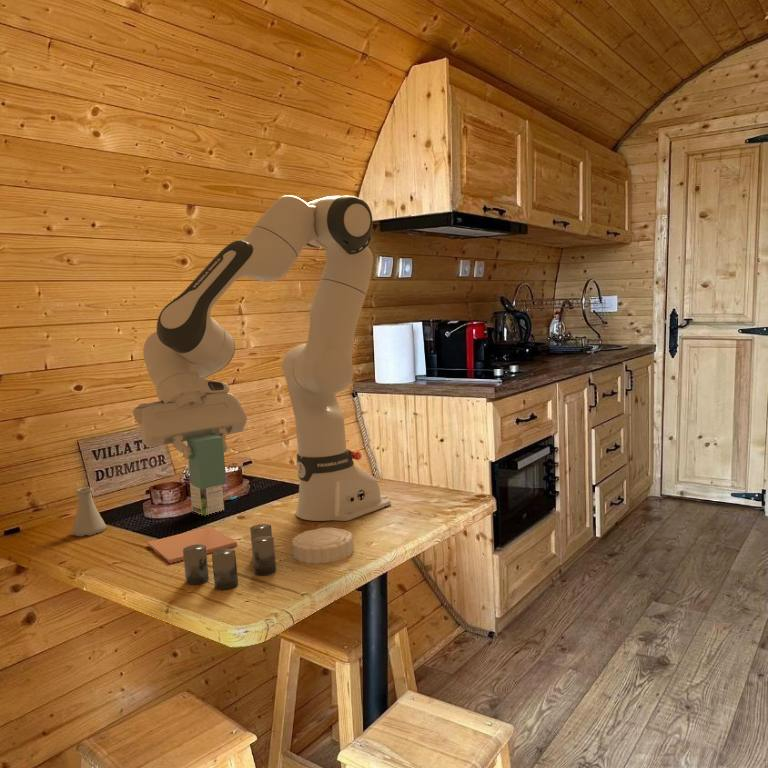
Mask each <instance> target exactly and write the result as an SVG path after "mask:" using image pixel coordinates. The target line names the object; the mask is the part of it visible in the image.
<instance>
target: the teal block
mask: <svg viewBox="0 0 768 768" xmlns="http://www.w3.org/2000/svg"><path fill="white" fill-rule="evenodd" d="M186 443H187V444H186V445H187V446H188V447H190V446H192V447H193V450H194V452H195V456H194V458H192V459H189V466H190V476H191V485H193V486H195V487H198V488H200V489H205V488H209V487H214V486H219V485H222V486H223V485H227V475H226V463H225V452H224V450H223V439H222V437H221V436H217V435H214V434H208V435H202V436H196V437H190V438H187V441H186ZM189 466H188V467H189Z"/></svg>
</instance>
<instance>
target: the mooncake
mask: <svg viewBox="0 0 768 768" xmlns="http://www.w3.org/2000/svg"><path fill="white" fill-rule="evenodd" d="M354 545H355V542H354V535H353V534H352V533H351V532H350V531H348V530H346V529H343V528H342V529H341V528H336V527H335V528H334V527H331V526H330V527H319V528H316V529H310V530H305V531H303V532H300V533H298V534H297V535H296V536H295V537H293V538H292V540H291V551H292V552H291V553H292V557H293V559H294V560H297V561H298V562H302V563H303V562H304V563H305V564H311V563H312V564H316V565H317V564H328V563H330V562H331V563H334V562H335V563H336V562H338V561H340V560H344V559H345V558H347V557H350V556H351V554H352V553H354V551H355V546H354Z"/></svg>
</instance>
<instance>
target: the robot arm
mask: <svg viewBox="0 0 768 768" xmlns="http://www.w3.org/2000/svg"><path fill="white" fill-rule="evenodd" d="M373 224H374V223H373V214H372V210H371V207H370V206H369V205H368V204H367V202H365V201H364V200H363V199H361V198H359V197H357V196H354V195H331V196H325V197H322V198H319V199H313V200H312V199H311V200H307V201H305V200H303V199H301V198H300V197H298V196H296V195H283V196H280V197H279V198H278V199H277V200H276V201H274V202H273V203H272V204H271V205H270V206H269V208H267V209H266V211H264V213H263V214H262V216H260V218H259V219H258V220H257V222H256V223H255V225H254V226H253V227H252V228H251V230H250V231H249V232H248V233H247V235H245V237H244V238H242V239H241V240H234V241H232V242H231V243H229V244H227V245H226V246H225V247H224V248H223V249H221V250H220V252H218V254H216V256H214V257H213V258H212V260H211V261H210V262H209V263H208V264H207V265H206V266H205V267H204V269H203V270H202V271H201V272H200V273H199V274H198V275H197V277H196V278H194V280H193V281H192V282H191V283H190V284H189V285H188V286H187V288H186V289H184V290H183V291H182V293H180V294H179V295H178V296H177V297H175V298H174V299H173V300H171V301H170V302H169V303H167V304H166V305H165V307H163V308H162V309H161V311H160V313H159V315H158V318H157V321H156V331H154V332H153V333H151V334H150V335H149V336H148V337H147V339H146V340H145V341H144V345H143V351H142V352H143V353H142V354H143V355H142V356H143V359H144V364H145V367H146V370H147V374H148V376H149V378H150V380H151V382H152V383H153V385H154V386H155V391H156V392H155V393H156V395H157V398H158V401H154V402H153V401H152V402H150V403H149V402H148V403H139V404H138V405H137V406H136V407H135V408H134V409H133V410H132V415H133V417H134V419H135V421H136V423H137V424H139V425H138V426H139V431H140V436H141V440H142V442H143V444H144V445H145V446H146V447H148V448H150V449H151V448H156V447H161V446H168V445H173V448H174V449H175V450H177V451H179V452H180V453H181V454H183V457H184V459H185V460H187V461H188V459H192V458H194V456H195V452H194V450H193V447H192V446H190V447H188V445H187V444H186V443H187V438H190V437H196V436H202V435H208V434H214V435H217V436H221V437H222V439H223V450H224V453H227V451H228V445H227V442H226V439H227V438H226V437H227V435H232V434H236V433H241V432H243V430H245V427H246V424H247V421H248V417H247V413H246V412H245V410H244V408H243V406H242V405H241V403H240V402H239V400H238V398H237V397H236V396H235V395H234V394H232V393H230V386H229V384H228V383H227V382H223V381H215V380H209V379H206V378H208V377H209V376H212V375H215V373H217V372H219V371H221V370H223V369H224V368H226V367H228V365H229V364H230V363H231V361H232V360H233V358H234V357H235V351H236V342H235V338H234V337H233V336H232V335H231V334H230V333H229V332H228V331H227V330H226V329H225V328H224V327H223V326H222V325H221V324H220V323H218V322H217V321H216V320H215V319H214V318H213V317H212V316H211V312H212V308H213V307H214V305H215V304H216V303H217V302H218V301H219V300H220V298H221V297H223V295H224V294H225V293H226V292H227V290H229V288H230V287H231V286H232V285H233V284H234V282H236V281H237V280H239V279H241V278H249V279H252V280H255V281H258V282H262V283H264V282H265V283H270V282H271V283H272V282H275V281H279V280H281V279H282V278H283V277H285V275H286V274H287V273H288V272H289V271H290V270H291V268H292V267H293V265H294V264H295V262H296V260H297V259H298V257H299V256H300V254H301V253H302V251H303V250H304V247H306V246H308V247H311V248H315V249H316V248H322V249H323V248H324V249H325V250H324V251H325V257H326V258H325V265H324V267H323V270H322V272H321V277H320V279H319V282H318V285H317V288H316V290H315V294H314V297H313V298H312V303H311V306H310V309H309V313H308V316H309V329H308V335H307V342H306V343H300V344H297V345H296V346H294V347H293V348H291V349H290V350H288V351H287V353H285V355H284V357H283V359H282V363H281V365H282V367H281V369H282V370H281V371H282V373H283V376H284V378H285V381H286V384H287V390H288V395H289V398H290V404H291V406H292V411H293V415H294V420H295V421H294V422H295V431H296V440H297V441H296V443H297V454H296V469H297V477H298V482H299V483H298V484H299V485H298V498H297V499H298V500H297V506H296V510H295V516H296V517H297V518H299V519H302V520H305V521H306V520H307V521H315V522H316V521H319V522H323V521H327V522H328V521H340V522H345V521H351V520H353V519H356V518H358V517H361V516H363V515H367V514H370V513H372V512H375V511H378V510H381V509H383V508H385V506H386V507H388V506H390V505H392V504H391V499H390V498H389V496H386V495H384V494H383V493H381V489H380V485H379V482H378V480H377V479H376V477H374V476H373V475H371V474H370V473H368V472H367V471H366V470H364V469H362V468H360V467H359V466H358V465H356V464H355V462H354V460H356V461H360V460H361V459H362V457H363V456H362V455H363V454H362V452H361V451H360V450H359V451H358V450H353V451H352V450H349V449H347V442H346V428H345V427H346V426H345V418H344V414H343V412H342V410H341V408H340V406H339V401H338V399H337V395H336V394H338V393H340V392H342V391H345V390H346V389H347V388H348V387H349V385H350V384H351V383H352V380H353V378H354V372H355V369H354V364H353V351H354V350H353V348H354V341H355V336H356V335H355V333H356V329H357V324H358V320H359V318H360V315H361V312H362V309H363V305H364V303H365V299H366V296H367V294H368V291H369V290H368V289H369V286H370V283H371V277H372V272H373V265H374V255H373V252H372V251H371V249H370V248H369V247H368V246H369V244H370V242H371V239H372V238H371V234H372V231H373V226H374V225H373ZM184 442H186V443H184Z"/></svg>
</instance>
